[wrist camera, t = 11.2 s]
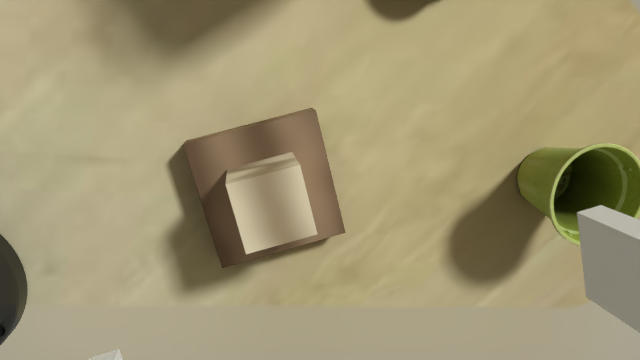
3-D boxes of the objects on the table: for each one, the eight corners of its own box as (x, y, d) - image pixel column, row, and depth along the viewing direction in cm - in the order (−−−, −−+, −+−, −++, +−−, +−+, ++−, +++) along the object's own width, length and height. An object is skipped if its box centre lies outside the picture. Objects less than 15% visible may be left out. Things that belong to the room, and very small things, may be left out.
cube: (245, 230, 46) (246, 254, 40) (227, 169, 45) (225, 184, 39) (307, 213, 47) (317, 234, 41) (292, 151, 45) (300, 164, 39)
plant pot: (485, 201, 52) (532, 227, 44) (525, 117, 51) (582, 127, 42) (557, 230, 54) (615, 260, 46) (598, 150, 53) (665, 166, 45)
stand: (223, 258, 49) (222, 268, 47) (186, 140, 46) (183, 144, 43) (340, 224, 50) (345, 232, 48) (311, 107, 47) (315, 110, 45)
